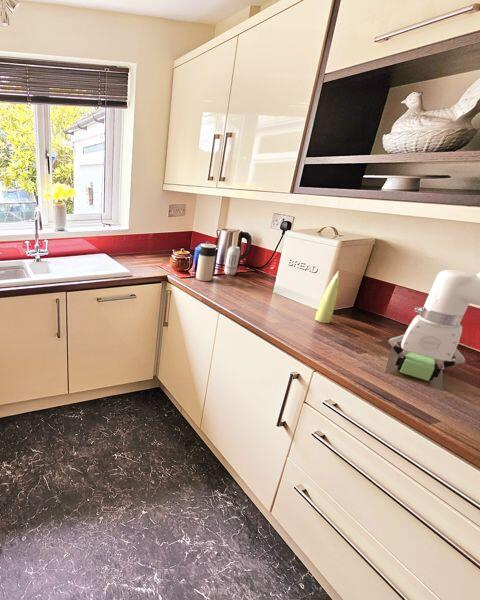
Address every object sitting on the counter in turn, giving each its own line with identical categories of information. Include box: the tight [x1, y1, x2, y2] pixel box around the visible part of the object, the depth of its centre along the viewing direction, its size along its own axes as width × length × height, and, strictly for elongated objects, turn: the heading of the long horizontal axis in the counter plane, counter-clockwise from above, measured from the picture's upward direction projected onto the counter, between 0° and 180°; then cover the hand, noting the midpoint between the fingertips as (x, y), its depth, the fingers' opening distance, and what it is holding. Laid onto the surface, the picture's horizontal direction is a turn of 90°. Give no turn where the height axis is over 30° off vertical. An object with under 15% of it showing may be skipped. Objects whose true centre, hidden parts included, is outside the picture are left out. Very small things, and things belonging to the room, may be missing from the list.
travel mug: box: [195, 243, 217, 282], centre depth 173 cm, size 8×8×18 cm
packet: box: [400, 352, 435, 381], centre depth 99 cm, size 6×14×4 cm, turn 135°
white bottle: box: [224, 245, 241, 276], centre depth 182 cm, size 6×6×15 cm
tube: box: [314, 271, 340, 324], centre depth 127 cm, size 6×5×20 cm
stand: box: [384, 347, 444, 392], centre depth 100 cm, size 12×20×1 cm, turn 135°
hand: (414, 372), depth 96 cm, fingers closed on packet, 6 cm apart
